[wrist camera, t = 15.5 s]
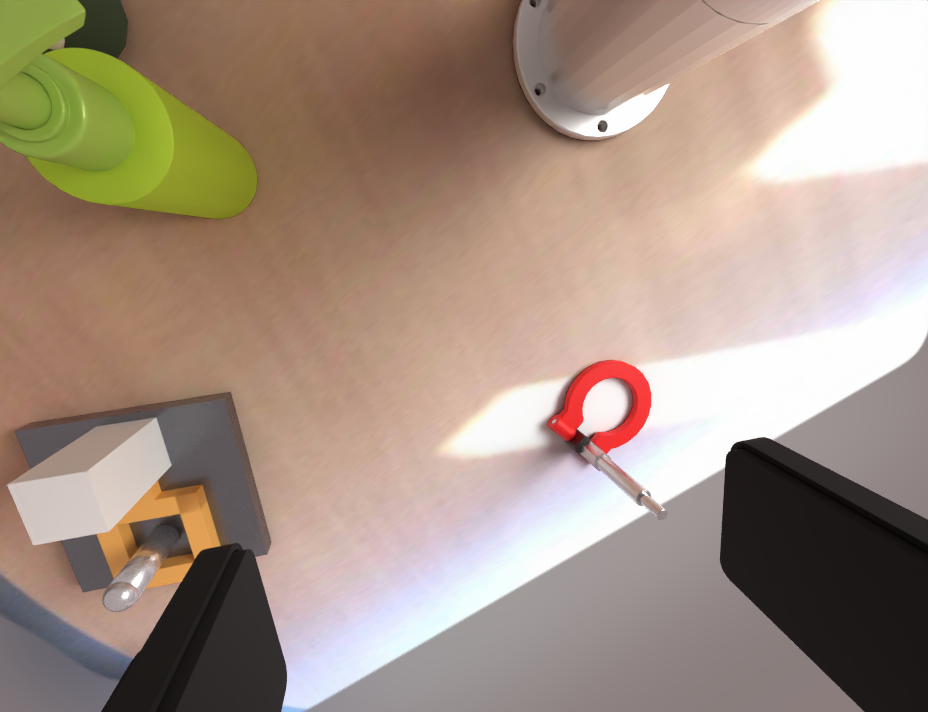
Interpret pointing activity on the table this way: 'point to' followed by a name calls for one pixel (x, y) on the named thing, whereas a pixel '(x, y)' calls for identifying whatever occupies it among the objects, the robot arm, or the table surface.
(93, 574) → the plate
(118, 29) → the character mug
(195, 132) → the soap dispenser
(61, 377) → the table surface
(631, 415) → the tow hook
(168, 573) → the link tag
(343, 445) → the table surface
